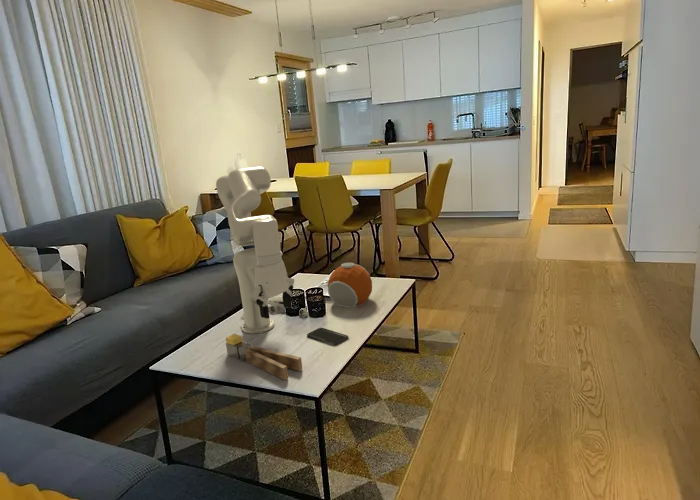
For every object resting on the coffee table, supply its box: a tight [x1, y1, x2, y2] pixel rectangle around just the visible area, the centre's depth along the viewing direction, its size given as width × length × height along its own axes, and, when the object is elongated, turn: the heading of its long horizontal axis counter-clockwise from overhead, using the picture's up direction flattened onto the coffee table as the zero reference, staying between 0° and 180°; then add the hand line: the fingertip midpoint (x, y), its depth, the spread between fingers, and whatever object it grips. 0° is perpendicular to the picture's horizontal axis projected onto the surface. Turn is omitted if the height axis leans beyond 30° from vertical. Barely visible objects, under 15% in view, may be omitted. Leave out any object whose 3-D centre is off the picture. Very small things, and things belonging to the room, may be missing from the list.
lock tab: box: [225, 333, 243, 345], centre depth 163 cm, size 4×4×2 cm
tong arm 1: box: [245, 349, 289, 381], centre depth 151 cm, size 20×2×4 cm, turn 46°
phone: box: [306, 327, 350, 347], centre depth 172 cm, size 8×1×15 cm
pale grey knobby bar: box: [267, 296, 309, 317], centre depth 202 cm, size 11×24×5 cm, turn 60°
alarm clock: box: [327, 262, 373, 308], centre depth 202 cm, size 19×18×17 cm
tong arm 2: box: [250, 345, 303, 372], centre depth 154 cm, size 20×2×4 cm, turn 58°
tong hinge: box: [225, 341, 253, 362], centre depth 162 cm, size 10×4×5 cm, turn 52°
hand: (276, 312), depth 148 cm, fingers open, 9 cm apart
